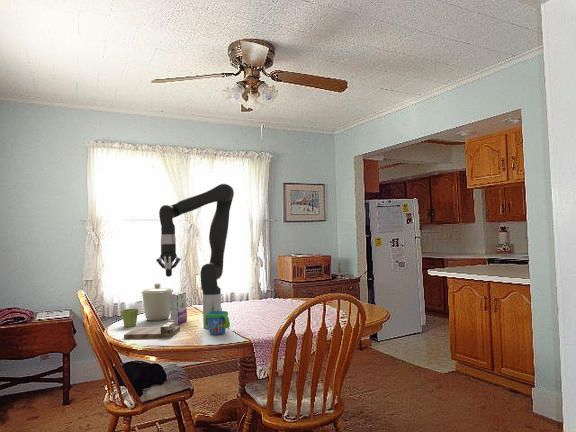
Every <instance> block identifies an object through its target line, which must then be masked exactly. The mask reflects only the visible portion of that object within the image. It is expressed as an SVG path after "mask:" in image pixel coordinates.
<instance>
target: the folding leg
mask: <svg viewBox="0 0 576 432" xmlns="http://www.w3.org/2000/svg"><path fill="white" fill-rule="evenodd" d="M160 327H161V334H167V333H168V330H169V329H170V328H173V329H174V328H175V327H176V325H175V320H171V319H170V320H169V321H168V322H166V323H165V324H164V325H162V326H160Z"/></svg>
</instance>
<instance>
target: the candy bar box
mask: <svg viewBox="0 0 576 432" xmlns="http://www.w3.org/2000/svg"><path fill="white" fill-rule="evenodd" d="M187 303H188V302H187V291H179V292H175V293H172V294H171V295H170V320H175V326H179V325H180V324H183V323H186V322H187V321H188V313H187V311H188V309H187V307H188V305H187Z"/></svg>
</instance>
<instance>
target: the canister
mask: <svg viewBox="0 0 576 432" xmlns="http://www.w3.org/2000/svg"><path fill="white" fill-rule="evenodd" d="M173 292H174V289H172V288H170V287H163V286H162V287H161V283H159V282H155V284H154V287H152V288H151V287H150V288H146V289H143V291H141V294H142V302H143V308H144V309H143V310H144V316H145V319H146V320H147V321H153V322H158V321H164V320H167V319H169V317H171V315H170V295H171V294H173Z"/></svg>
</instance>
